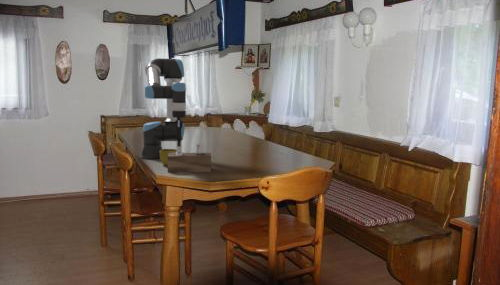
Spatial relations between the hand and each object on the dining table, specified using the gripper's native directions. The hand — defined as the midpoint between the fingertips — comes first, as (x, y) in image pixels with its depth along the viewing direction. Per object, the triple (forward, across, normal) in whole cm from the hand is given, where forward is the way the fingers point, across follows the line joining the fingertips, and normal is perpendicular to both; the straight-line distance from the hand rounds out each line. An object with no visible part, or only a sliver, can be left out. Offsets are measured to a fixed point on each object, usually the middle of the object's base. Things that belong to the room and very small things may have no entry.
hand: (179, 151), depth 236 cm
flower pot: (+11, -16, -7) cm, 21 cm away
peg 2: (+5, 0, +12) cm, 13 cm away
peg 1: (+9, 0, 0) cm, 9 cm away
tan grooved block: (+11, 0, +6) cm, 12 cm away
